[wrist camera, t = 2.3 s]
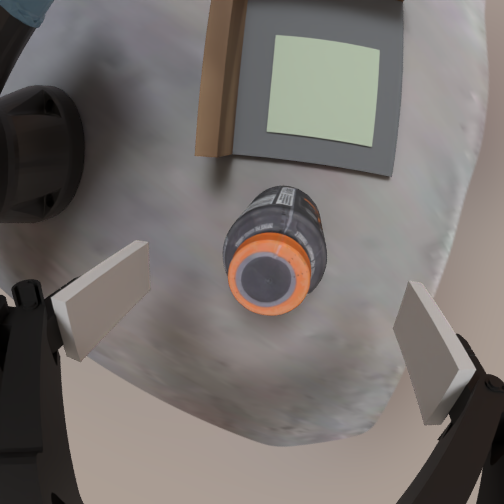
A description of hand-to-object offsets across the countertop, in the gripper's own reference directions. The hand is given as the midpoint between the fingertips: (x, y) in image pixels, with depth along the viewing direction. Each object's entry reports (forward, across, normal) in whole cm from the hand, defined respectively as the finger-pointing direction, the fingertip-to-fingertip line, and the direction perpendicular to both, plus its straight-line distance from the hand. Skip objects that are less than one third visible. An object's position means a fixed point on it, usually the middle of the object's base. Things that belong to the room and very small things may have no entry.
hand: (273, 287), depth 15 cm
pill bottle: (+11, 0, 0) cm, 11 cm away
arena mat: (+11, +1, +14) cm, 18 cm away
